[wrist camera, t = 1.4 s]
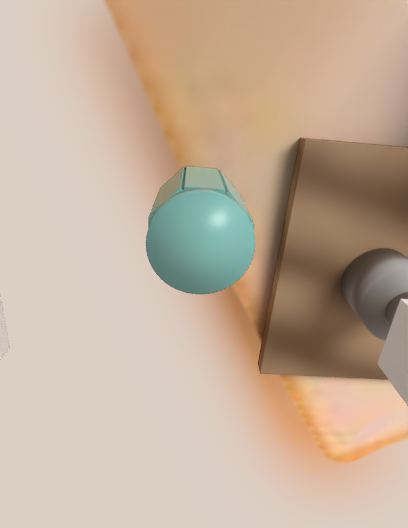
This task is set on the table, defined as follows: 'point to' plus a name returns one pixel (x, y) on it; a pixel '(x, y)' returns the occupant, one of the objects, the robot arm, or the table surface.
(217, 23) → the table surface
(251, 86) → the table surface
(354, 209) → the stud board
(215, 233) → the cap
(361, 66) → the table surface
